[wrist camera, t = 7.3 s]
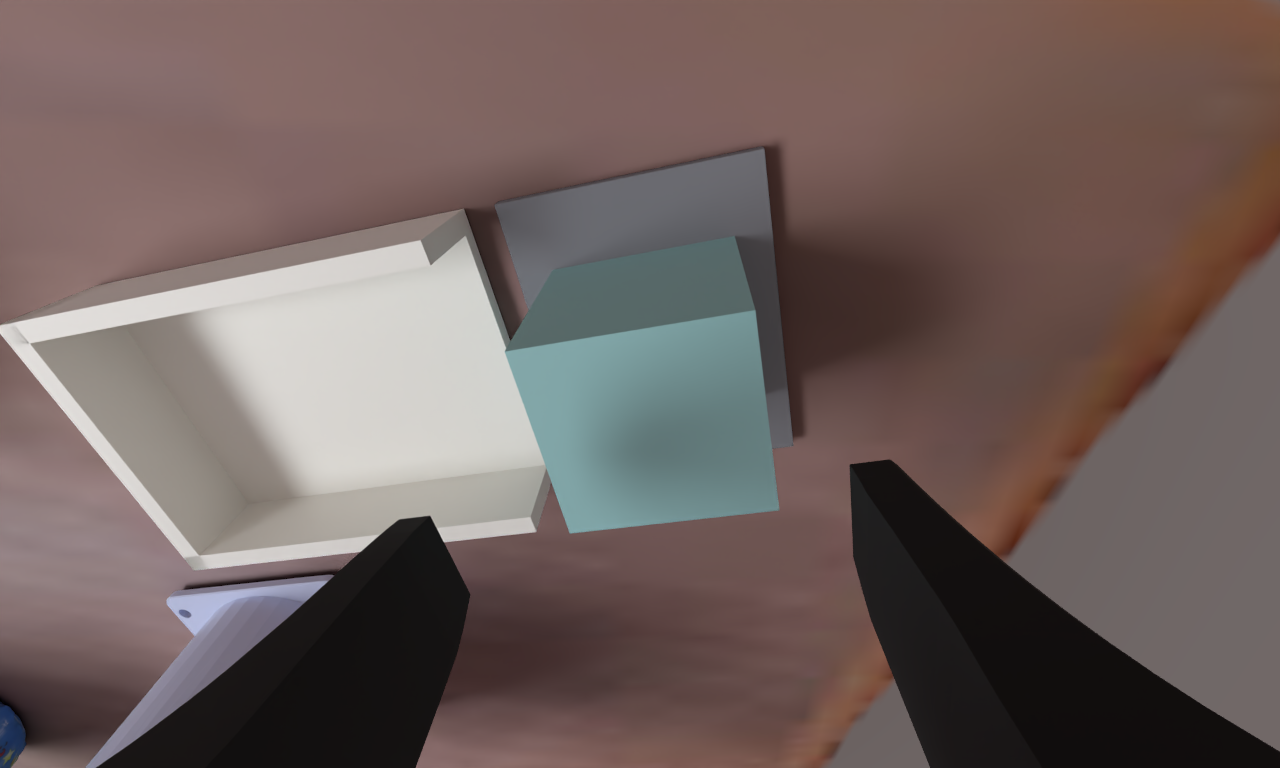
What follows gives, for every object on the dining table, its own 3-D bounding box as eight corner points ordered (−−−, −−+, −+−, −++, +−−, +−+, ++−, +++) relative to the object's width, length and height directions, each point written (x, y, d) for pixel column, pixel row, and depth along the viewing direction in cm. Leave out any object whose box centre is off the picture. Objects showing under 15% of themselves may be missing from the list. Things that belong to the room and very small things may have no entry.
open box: (555, 469, 20) (536, 531, 17) (251, 508, 22) (193, 570, 19) (463, 208, 16) (420, 240, 13) (96, 285, 18) (-6, 326, 15)
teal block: (755, 396, 18) (779, 510, 13) (596, 419, 18) (569, 533, 14) (734, 235, 15) (755, 310, 11) (552, 270, 16) (504, 351, 12)
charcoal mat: (791, 438, 19) (793, 446, 18) (583, 465, 20) (581, 473, 19) (762, 146, 14) (764, 148, 14) (498, 201, 16) (494, 204, 15)
